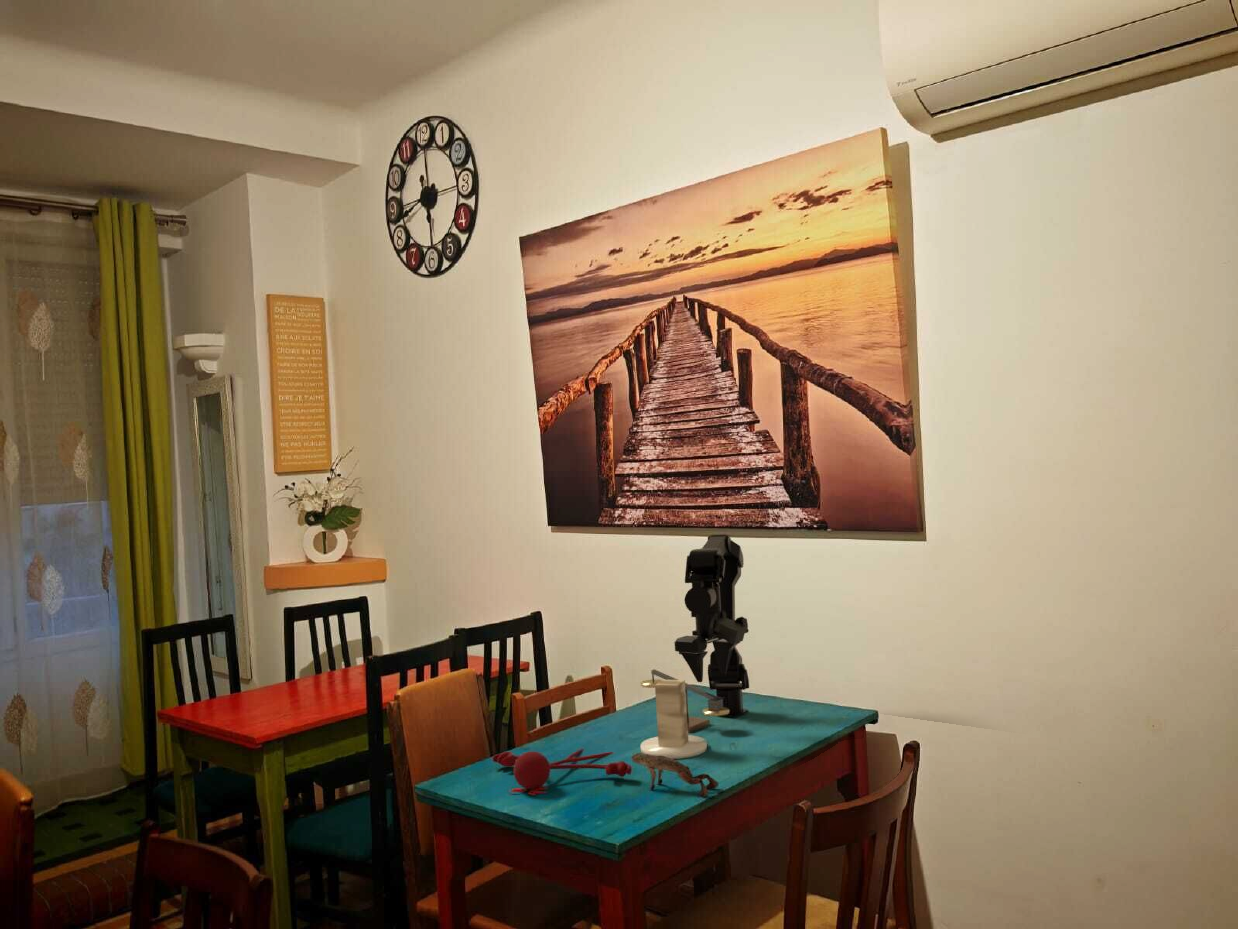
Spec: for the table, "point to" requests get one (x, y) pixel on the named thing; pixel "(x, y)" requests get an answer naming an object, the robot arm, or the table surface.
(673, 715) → the birch block
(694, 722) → the balance
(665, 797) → the table surface
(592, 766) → the toy
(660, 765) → the toy
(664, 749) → the saucer
